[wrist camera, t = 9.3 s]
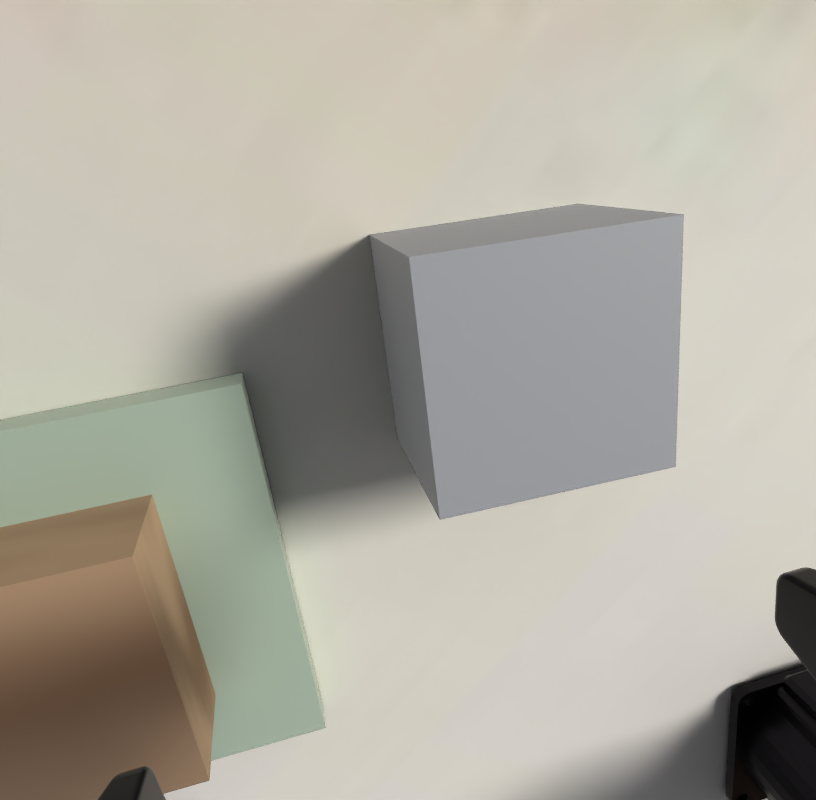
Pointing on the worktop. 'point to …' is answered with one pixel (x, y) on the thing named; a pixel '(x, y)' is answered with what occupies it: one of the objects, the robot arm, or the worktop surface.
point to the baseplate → (187, 533)
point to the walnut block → (97, 657)
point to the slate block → (532, 350)
